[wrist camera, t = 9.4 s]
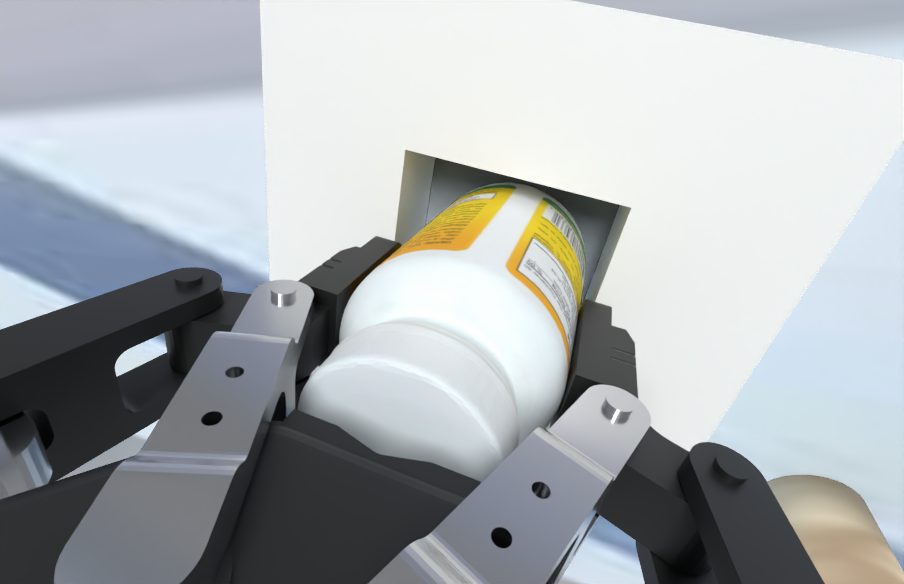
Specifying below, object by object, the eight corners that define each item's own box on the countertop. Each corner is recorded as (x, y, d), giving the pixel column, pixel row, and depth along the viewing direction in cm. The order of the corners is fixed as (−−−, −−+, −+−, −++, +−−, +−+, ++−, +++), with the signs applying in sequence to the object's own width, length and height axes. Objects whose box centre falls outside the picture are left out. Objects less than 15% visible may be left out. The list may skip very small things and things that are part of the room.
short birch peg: (894, 501, 17) (963, 613, 13) (828, 560, 19) (875, 672, 15) (778, 460, 17) (816, 557, 14) (727, 522, 19) (750, 620, 16)
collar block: (877, 66, 12) (949, 69, 9) (650, 459, 19) (655, 520, 17) (320, -37, 15) (257, -57, 12) (312, 339, 22) (272, 376, 20)
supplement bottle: (615, 214, 14) (613, 421, 6) (549, 343, 17) (489, 601, 9) (459, 154, 15) (274, 269, 7) (419, 286, 18) (255, 480, 10)
